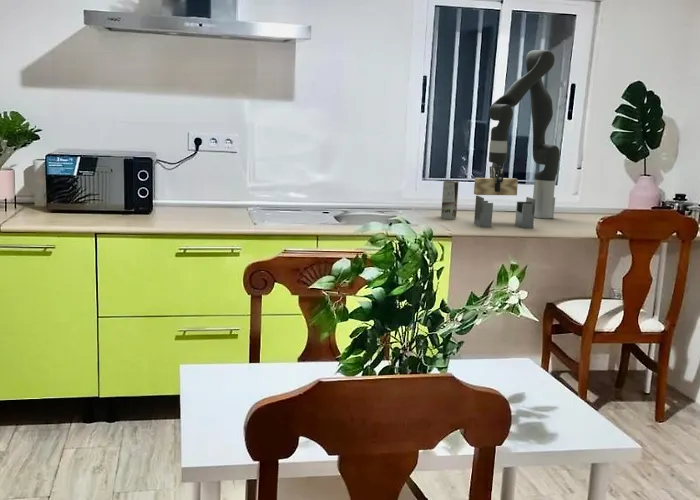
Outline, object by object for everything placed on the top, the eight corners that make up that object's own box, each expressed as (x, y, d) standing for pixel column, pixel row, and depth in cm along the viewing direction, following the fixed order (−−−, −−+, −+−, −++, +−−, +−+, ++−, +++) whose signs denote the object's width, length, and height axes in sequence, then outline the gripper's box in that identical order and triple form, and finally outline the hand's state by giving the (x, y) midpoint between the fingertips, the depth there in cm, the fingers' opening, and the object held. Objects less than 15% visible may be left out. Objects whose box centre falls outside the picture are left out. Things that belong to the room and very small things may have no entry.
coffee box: (455, 219, 328) (457, 182, 325) (440, 218, 330) (442, 181, 327) (456, 216, 337) (459, 180, 334) (442, 215, 338) (444, 180, 335)
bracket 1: (479, 227, 310) (481, 198, 308) (473, 224, 318) (476, 195, 315) (491, 227, 311) (493, 198, 308) (485, 224, 318) (487, 196, 316)
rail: (513, 194, 330) (514, 178, 329) (516, 195, 326) (517, 179, 325) (473, 193, 328) (474, 177, 326) (476, 195, 324) (477, 178, 322)
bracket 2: (526, 225, 321) (528, 197, 318) (533, 228, 313) (535, 199, 311) (515, 224, 320) (517, 196, 318) (521, 227, 312) (524, 199, 310)
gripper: (512, 152, 317) (509, 193, 320) (501, 150, 331) (498, 189, 334) (494, 152, 316) (492, 193, 319) (484, 150, 330) (482, 189, 333)
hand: (495, 190), depth 327 cm, fingers closed on rail, 4 cm apart
